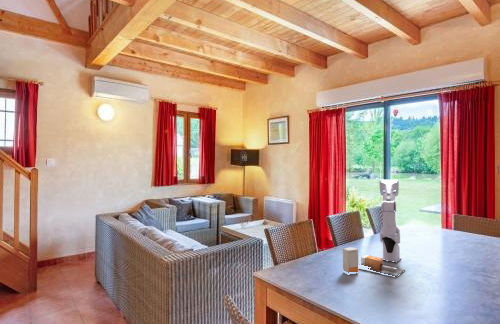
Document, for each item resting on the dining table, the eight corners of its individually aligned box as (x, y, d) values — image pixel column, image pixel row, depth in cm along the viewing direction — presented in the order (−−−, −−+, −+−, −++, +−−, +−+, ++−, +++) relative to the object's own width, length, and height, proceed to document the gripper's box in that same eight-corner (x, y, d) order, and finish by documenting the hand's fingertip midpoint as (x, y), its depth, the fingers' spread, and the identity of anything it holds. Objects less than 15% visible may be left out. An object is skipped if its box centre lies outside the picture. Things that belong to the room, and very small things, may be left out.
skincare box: (347, 275, 141) (347, 250, 141) (342, 272, 145) (342, 248, 145) (359, 274, 143) (358, 249, 143) (353, 271, 147) (353, 246, 147)
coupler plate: (366, 262, 159) (366, 253, 159) (404, 271, 145) (404, 260, 145) (356, 268, 150) (356, 258, 150) (396, 278, 137) (395, 267, 137)
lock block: (365, 265, 151) (365, 257, 151) (369, 263, 154) (369, 255, 154) (379, 269, 146) (379, 260, 146) (383, 266, 149) (383, 258, 149)
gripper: (405, 228, 141) (406, 256, 141) (389, 221, 155) (389, 247, 155) (391, 228, 140) (391, 257, 140) (375, 222, 155) (376, 248, 155)
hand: (389, 252), depth 148 cm, fingers closed
